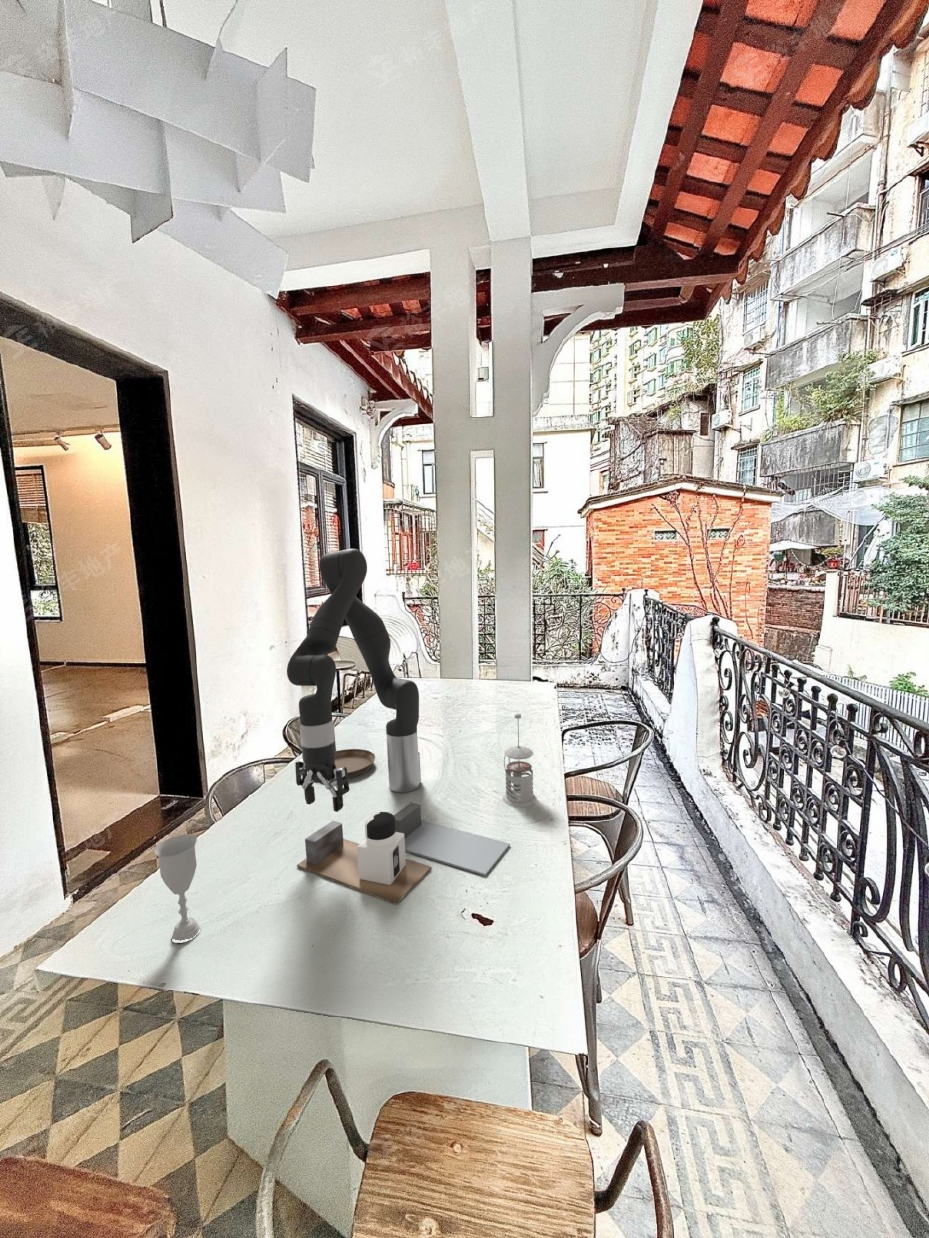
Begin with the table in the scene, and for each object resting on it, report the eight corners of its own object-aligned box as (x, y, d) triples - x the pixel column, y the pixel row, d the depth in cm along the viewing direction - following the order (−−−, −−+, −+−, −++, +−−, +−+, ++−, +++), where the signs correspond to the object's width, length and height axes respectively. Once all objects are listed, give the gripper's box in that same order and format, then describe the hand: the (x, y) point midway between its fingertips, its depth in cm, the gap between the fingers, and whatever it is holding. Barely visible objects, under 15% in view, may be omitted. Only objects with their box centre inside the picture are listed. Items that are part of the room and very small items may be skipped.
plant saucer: (298, 778, 165) (297, 768, 165) (337, 754, 184) (336, 745, 184) (352, 787, 157) (352, 776, 157) (387, 761, 176) (386, 752, 176)
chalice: (176, 921, 100) (166, 835, 98) (212, 918, 101) (203, 832, 99) (157, 950, 93) (146, 858, 91) (196, 946, 94) (186, 855, 91)
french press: (514, 810, 139) (512, 721, 136) (492, 793, 150) (490, 710, 146) (544, 801, 144) (542, 715, 141) (521, 785, 154) (519, 704, 151)
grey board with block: (413, 819, 136) (412, 797, 135) (509, 845, 122) (509, 821, 122) (382, 844, 125) (381, 821, 124) (485, 875, 111) (484, 850, 110)
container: (406, 864, 115) (403, 810, 114) (390, 886, 108) (387, 828, 106) (375, 859, 118) (372, 805, 116) (358, 879, 111) (354, 823, 109)
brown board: (337, 838, 128) (335, 815, 127) (431, 868, 114) (430, 843, 114) (297, 866, 117) (295, 842, 116) (396, 904, 103) (394, 876, 102)
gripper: (353, 738, 117) (358, 805, 119) (307, 730, 124) (313, 793, 126) (330, 750, 111) (336, 820, 113) (283, 741, 118) (290, 807, 120)
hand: (324, 806), depth 120 cm, fingers open, 8 cm apart
